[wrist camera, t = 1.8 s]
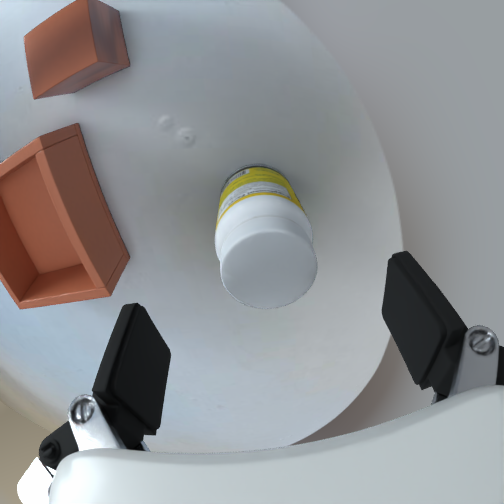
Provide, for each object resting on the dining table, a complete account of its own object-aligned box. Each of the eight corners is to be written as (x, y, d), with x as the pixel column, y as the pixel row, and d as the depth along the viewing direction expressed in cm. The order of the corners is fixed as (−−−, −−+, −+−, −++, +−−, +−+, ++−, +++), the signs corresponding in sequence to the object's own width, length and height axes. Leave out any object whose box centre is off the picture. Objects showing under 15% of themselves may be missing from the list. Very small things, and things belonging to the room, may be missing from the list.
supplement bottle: (285, 231, 20) (311, 317, 13) (218, 226, 19) (209, 314, 12) (297, 166, 17) (339, 227, 10) (223, 159, 17) (212, 216, 10)
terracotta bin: (-7, 176, 15) (-40, 198, 11) (78, 122, 14) (39, 136, 10) (42, 278, 21) (20, 309, 17) (130, 257, 20) (111, 296, 16)
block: (62, 40, 11) (23, 36, 7) (118, 10, 10) (86, -6, 7) (73, 93, 13) (33, 100, 9) (130, 65, 13) (98, 61, 9)
